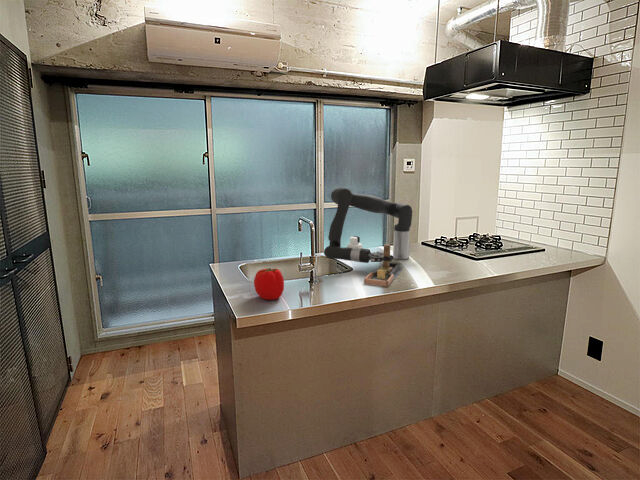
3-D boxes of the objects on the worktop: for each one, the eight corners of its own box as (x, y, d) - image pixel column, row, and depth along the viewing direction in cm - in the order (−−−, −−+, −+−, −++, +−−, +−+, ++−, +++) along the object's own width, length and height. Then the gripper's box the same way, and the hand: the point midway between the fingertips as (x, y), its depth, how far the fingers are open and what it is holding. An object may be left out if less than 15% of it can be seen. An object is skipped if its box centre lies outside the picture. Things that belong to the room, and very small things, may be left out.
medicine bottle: (352, 253, 249) (352, 234, 246) (362, 254, 245) (362, 236, 243) (347, 255, 243) (347, 236, 240) (357, 257, 239) (357, 238, 237)
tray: (371, 277, 198) (371, 271, 198) (393, 280, 194) (393, 274, 193) (364, 285, 187) (364, 278, 186) (387, 288, 183) (387, 281, 182)
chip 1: (380, 273, 202) (381, 266, 201) (388, 274, 200) (388, 267, 200) (379, 276, 198) (379, 268, 197) (386, 276, 197) (387, 269, 196)
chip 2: (379, 276, 198) (379, 268, 197) (386, 277, 197) (387, 269, 196) (377, 278, 195) (377, 270, 194) (384, 279, 193) (385, 271, 192)
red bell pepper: (275, 305, 162) (275, 274, 159) (247, 301, 167) (246, 270, 164) (292, 293, 176) (291, 264, 173) (265, 289, 181) (264, 261, 178)
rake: (383, 270, 208) (384, 243, 205) (392, 271, 206) (393, 243, 203) (379, 273, 202) (380, 245, 199) (389, 274, 200) (390, 246, 197)
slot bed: (380, 266, 219) (380, 261, 218) (403, 269, 214) (403, 264, 213) (369, 277, 199) (370, 272, 198) (394, 280, 194) (395, 275, 193)
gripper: (356, 251, 201) (389, 254, 194) (364, 245, 213) (395, 248, 207) (356, 265, 202) (389, 269, 196) (364, 258, 215) (394, 262, 209)
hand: (392, 258), depth 201 cm, fingers closed on rake, 3 cm apart
